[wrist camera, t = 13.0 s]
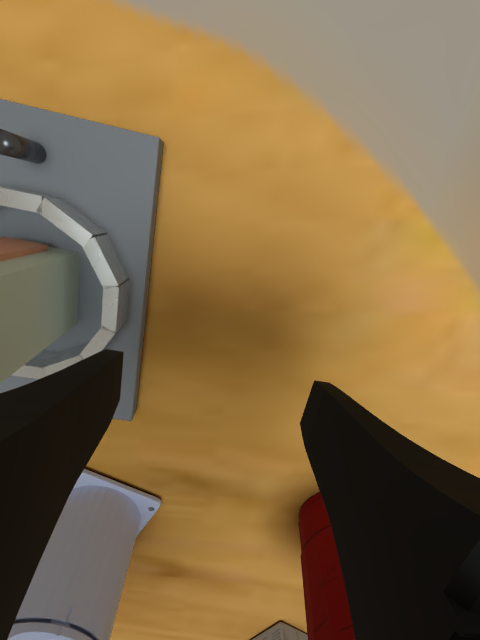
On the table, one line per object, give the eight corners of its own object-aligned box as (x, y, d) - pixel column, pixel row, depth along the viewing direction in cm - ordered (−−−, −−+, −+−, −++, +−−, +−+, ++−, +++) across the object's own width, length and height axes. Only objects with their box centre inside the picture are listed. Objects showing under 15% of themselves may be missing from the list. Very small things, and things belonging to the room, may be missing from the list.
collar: (122, 372, 20) (109, 393, 17) (-46, 348, 18) (-85, 368, 16) (138, 165, 16) (124, 157, 13) (-77, 116, 14) (-135, 97, 12)
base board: (136, 410, 22) (131, 421, 21) (-39, 388, 21) (-54, 398, 20) (163, 142, 16) (159, 137, 15) (-79, 84, 15) (-103, 74, 14)
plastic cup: (409, 478, 26) (548, 677, 15) (356, 556, 30) (437, 765, 19) (299, 454, 25) (363, 657, 13) (255, 539, 28) (278, 759, 17)
